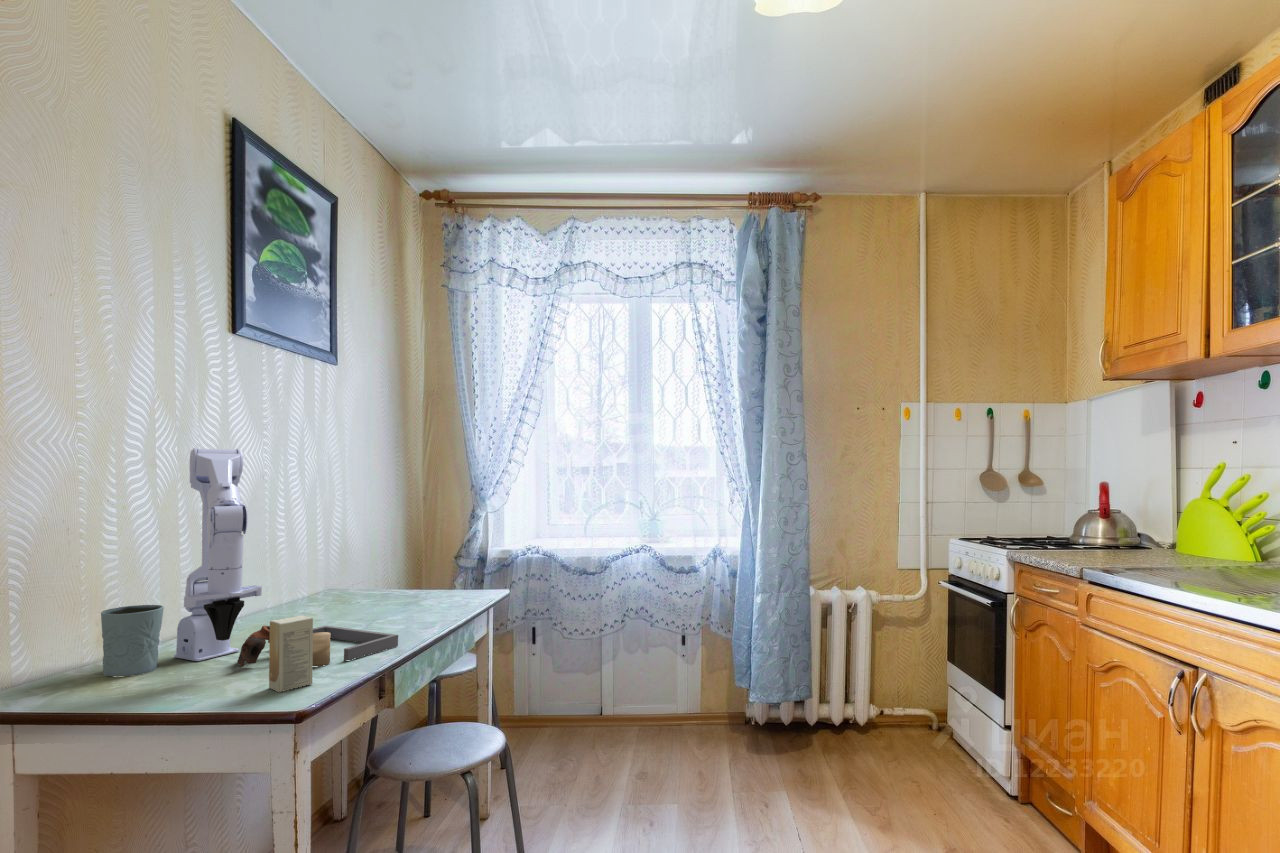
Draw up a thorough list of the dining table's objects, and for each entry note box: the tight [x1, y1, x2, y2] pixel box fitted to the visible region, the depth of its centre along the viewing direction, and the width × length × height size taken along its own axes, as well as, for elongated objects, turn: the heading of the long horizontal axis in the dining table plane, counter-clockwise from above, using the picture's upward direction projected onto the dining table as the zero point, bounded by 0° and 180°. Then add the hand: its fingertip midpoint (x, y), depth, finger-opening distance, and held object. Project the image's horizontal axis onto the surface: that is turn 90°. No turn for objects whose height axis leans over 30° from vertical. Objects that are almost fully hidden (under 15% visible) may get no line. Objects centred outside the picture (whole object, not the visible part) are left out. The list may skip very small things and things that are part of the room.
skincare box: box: [268, 615, 314, 693], centre depth 130 cm, size 6×4×12 cm
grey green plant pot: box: [100, 604, 165, 677], centre depth 140 cm, size 10×10×12 cm
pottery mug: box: [236, 625, 270, 667], centre depth 146 cm, size 12×10×8 cm
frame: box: [313, 625, 399, 661], centre depth 158 cm, size 14×22×2 cm, turn 65°
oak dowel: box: [313, 632, 331, 667], centre depth 145 cm, size 4×4×6 cm
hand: (222, 639), depth 137 cm, fingers closed
